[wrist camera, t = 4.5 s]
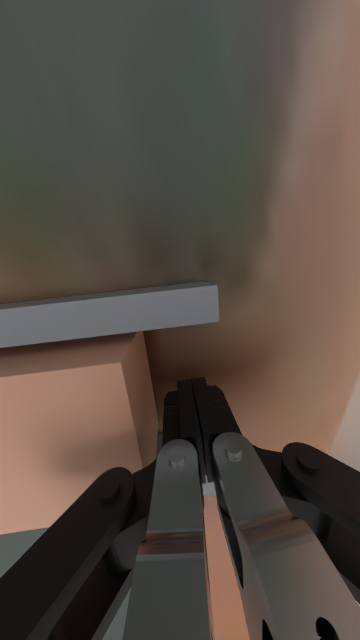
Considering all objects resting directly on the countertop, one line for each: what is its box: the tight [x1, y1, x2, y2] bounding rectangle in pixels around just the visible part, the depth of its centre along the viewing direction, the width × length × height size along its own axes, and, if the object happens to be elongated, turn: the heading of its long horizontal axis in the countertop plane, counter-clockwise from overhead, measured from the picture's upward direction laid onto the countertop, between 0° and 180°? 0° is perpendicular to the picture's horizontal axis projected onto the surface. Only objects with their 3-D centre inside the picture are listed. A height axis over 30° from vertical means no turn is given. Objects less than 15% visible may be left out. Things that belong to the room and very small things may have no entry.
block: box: [0, 331, 158, 534], centre depth 9 cm, size 7×8×5 cm
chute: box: [0, 281, 220, 496], centre depth 10 cm, size 11×15×3 cm
